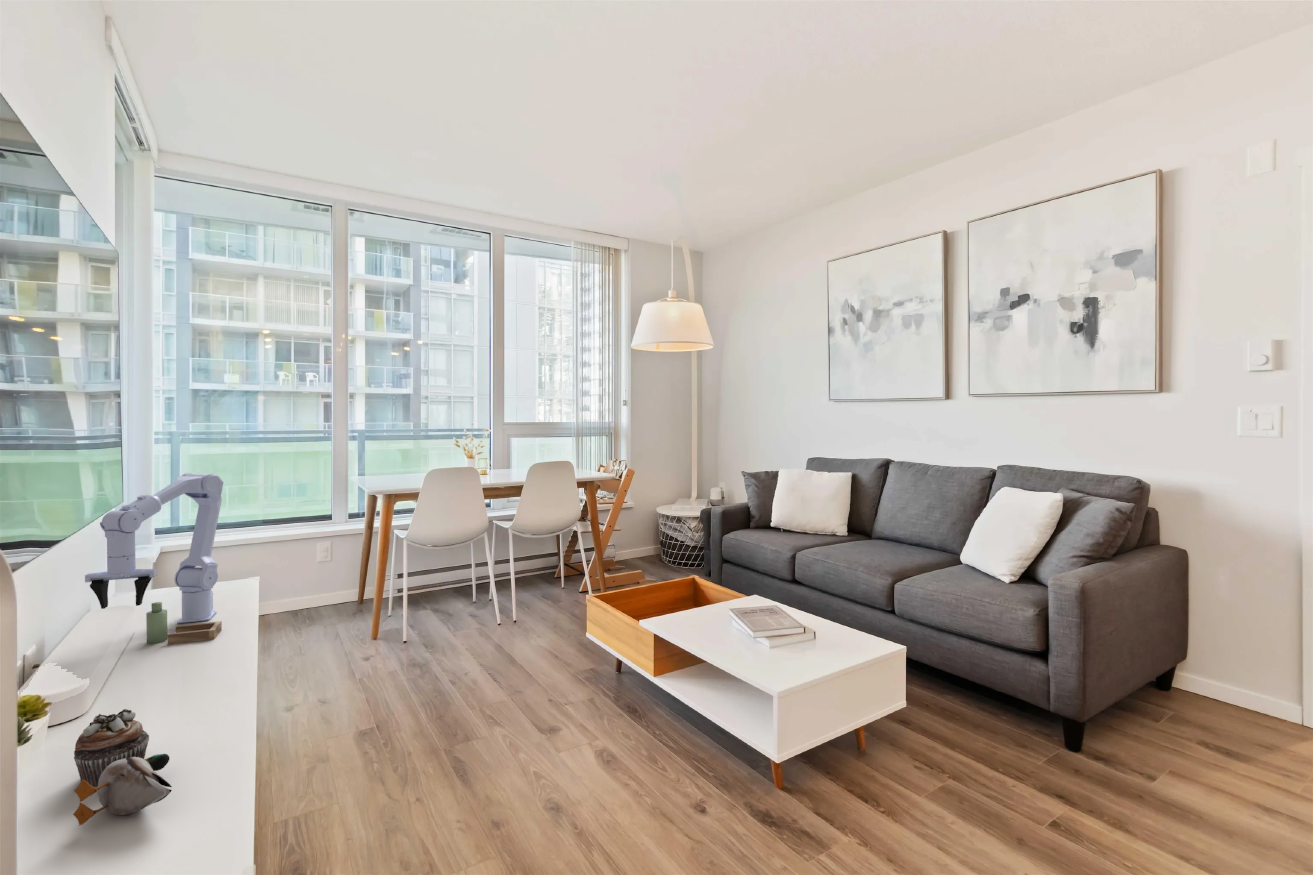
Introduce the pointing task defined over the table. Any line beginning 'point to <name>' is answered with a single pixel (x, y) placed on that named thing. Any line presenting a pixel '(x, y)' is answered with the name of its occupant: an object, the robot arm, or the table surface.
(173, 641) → the u rest
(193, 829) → the table surface
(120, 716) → the cupcake
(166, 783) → the decorative duck model
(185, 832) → the table surface
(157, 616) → the bottle
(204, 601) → the robot arm
